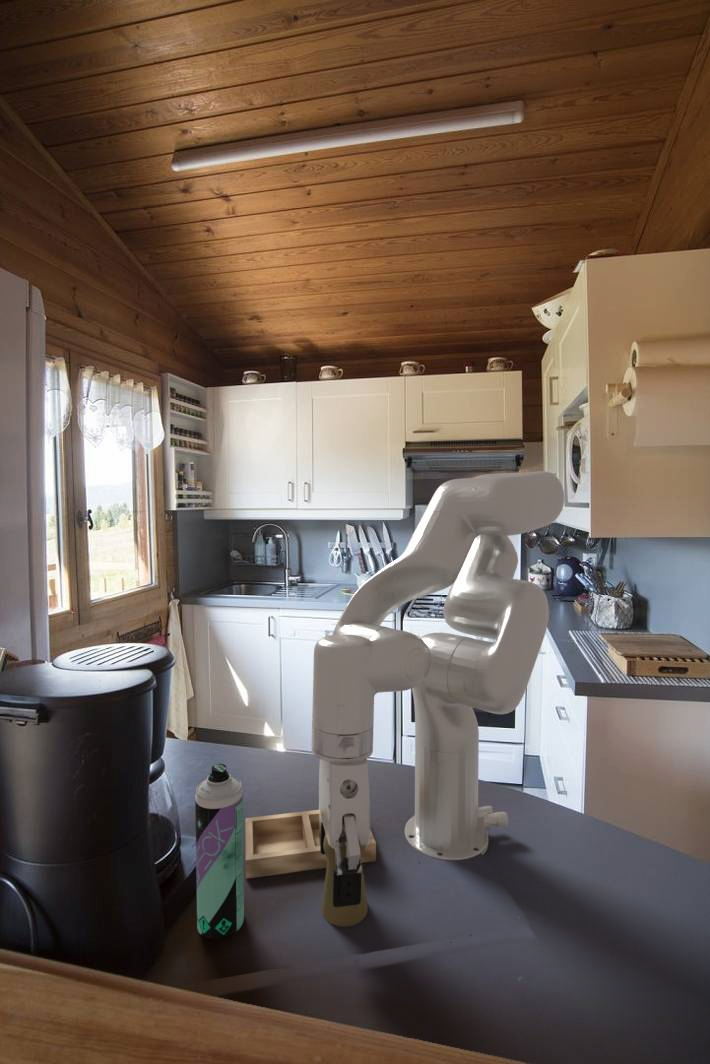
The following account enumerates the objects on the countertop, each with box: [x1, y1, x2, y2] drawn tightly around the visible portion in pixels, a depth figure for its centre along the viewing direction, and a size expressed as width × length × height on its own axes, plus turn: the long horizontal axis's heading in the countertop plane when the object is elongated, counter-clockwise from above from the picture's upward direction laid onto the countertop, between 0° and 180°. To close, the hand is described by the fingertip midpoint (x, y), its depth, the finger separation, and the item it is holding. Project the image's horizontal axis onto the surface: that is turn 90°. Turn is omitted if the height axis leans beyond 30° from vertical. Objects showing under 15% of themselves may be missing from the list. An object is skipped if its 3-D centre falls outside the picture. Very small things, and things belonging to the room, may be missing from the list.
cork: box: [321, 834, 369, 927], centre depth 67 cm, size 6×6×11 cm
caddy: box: [245, 809, 377, 879], centre depth 79 cm, size 18×10×4 cm, turn 102°
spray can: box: [194, 763, 245, 940], centre depth 65 cm, size 6×6×20 cm
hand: (339, 876), depth 66 cm, fingers open, 9 cm apart
